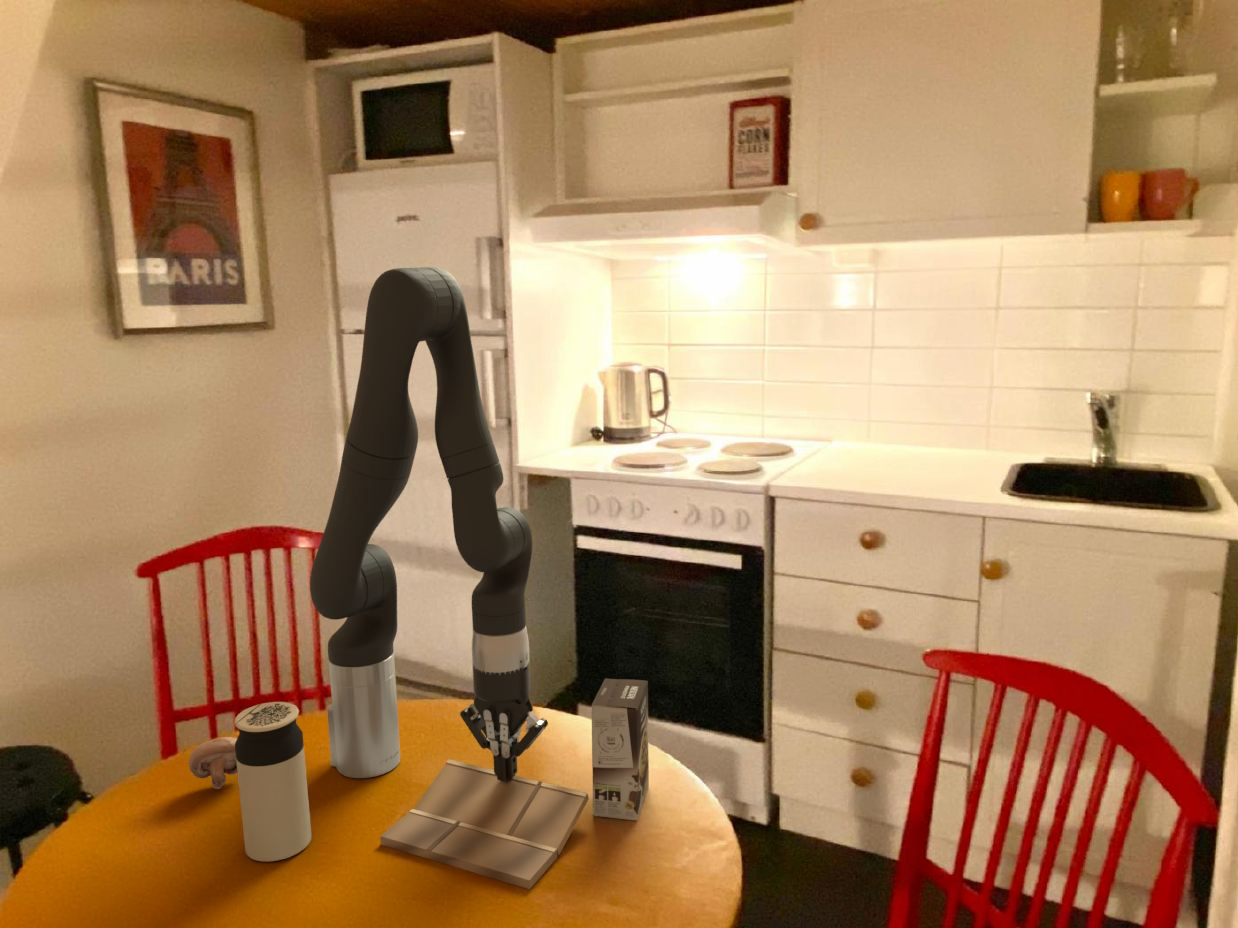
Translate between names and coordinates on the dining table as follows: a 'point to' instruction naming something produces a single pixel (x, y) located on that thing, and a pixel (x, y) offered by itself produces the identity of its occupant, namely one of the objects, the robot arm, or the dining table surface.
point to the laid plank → (470, 848)
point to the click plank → (504, 804)
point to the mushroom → (214, 760)
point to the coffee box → (620, 748)
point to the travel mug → (272, 781)
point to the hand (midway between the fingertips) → (506, 778)
